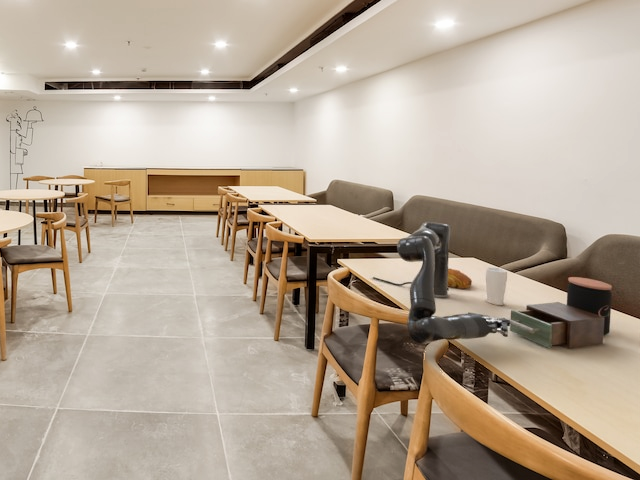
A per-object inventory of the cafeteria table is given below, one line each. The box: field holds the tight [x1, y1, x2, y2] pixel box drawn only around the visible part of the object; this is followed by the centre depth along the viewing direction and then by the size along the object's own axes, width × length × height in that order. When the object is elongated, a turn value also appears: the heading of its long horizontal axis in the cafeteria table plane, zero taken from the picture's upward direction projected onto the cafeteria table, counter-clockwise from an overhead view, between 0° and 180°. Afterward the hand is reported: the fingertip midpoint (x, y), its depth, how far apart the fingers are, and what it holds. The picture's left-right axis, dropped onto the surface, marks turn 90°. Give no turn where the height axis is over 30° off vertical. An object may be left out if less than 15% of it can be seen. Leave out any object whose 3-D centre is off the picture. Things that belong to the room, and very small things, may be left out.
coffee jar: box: [566, 276, 613, 336], centre depth 136 cm, size 11×11×18 cm
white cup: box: [485, 266, 508, 306], centre depth 158 cm, size 7×7×15 cm
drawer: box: [508, 309, 568, 348], centre depth 128 cm, size 19×11×8 cm, turn 101°
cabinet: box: [525, 301, 605, 350], centre depth 130 cm, size 16×13×10 cm
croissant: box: [447, 267, 473, 290], centre depth 180 cm, size 14×16×8 cm
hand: (506, 321), depth 124 cm, fingers closed
